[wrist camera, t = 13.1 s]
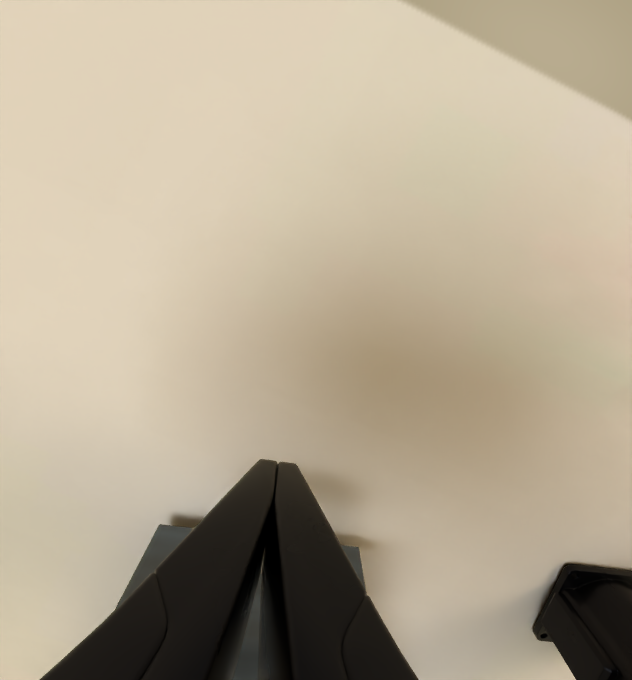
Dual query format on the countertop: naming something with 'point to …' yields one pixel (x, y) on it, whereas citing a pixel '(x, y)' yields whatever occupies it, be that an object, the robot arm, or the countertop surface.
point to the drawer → (248, 658)
